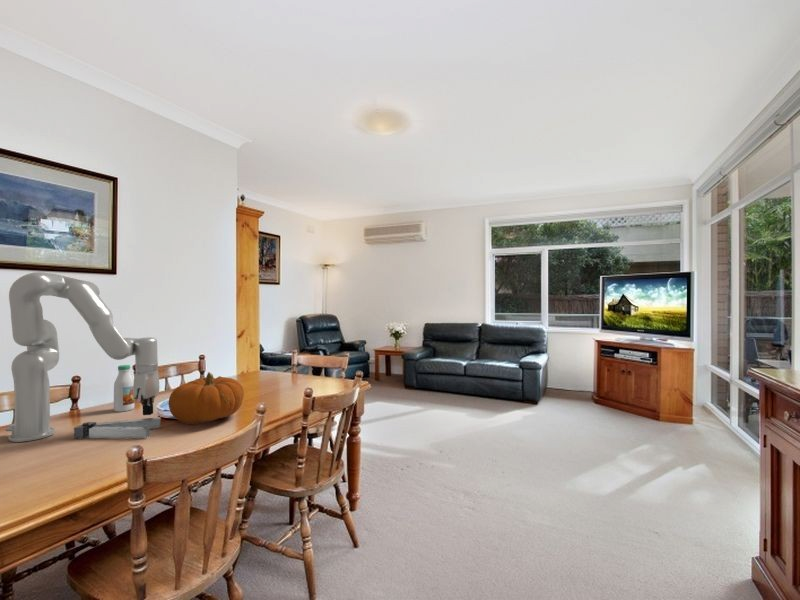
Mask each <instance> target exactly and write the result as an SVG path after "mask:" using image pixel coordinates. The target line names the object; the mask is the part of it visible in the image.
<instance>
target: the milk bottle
mask: <svg viewBox="0 0 800 600" xmlns="http://www.w3.org/2000/svg"><path fill="white" fill-rule="evenodd" d="M117 371H118V372H117V373H118V374H117V377H116V378H115V380H114V384H113V410H114V411H113V412H116V413H118V412H119V413H122V412H127V411H128V412H129V411H132V410H134V409H135V400H136V399H134V398H133V385H134V378H133V376H132V374H131V365H130V364H122V365H121V364H120V365H118V366H117Z"/></svg>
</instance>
